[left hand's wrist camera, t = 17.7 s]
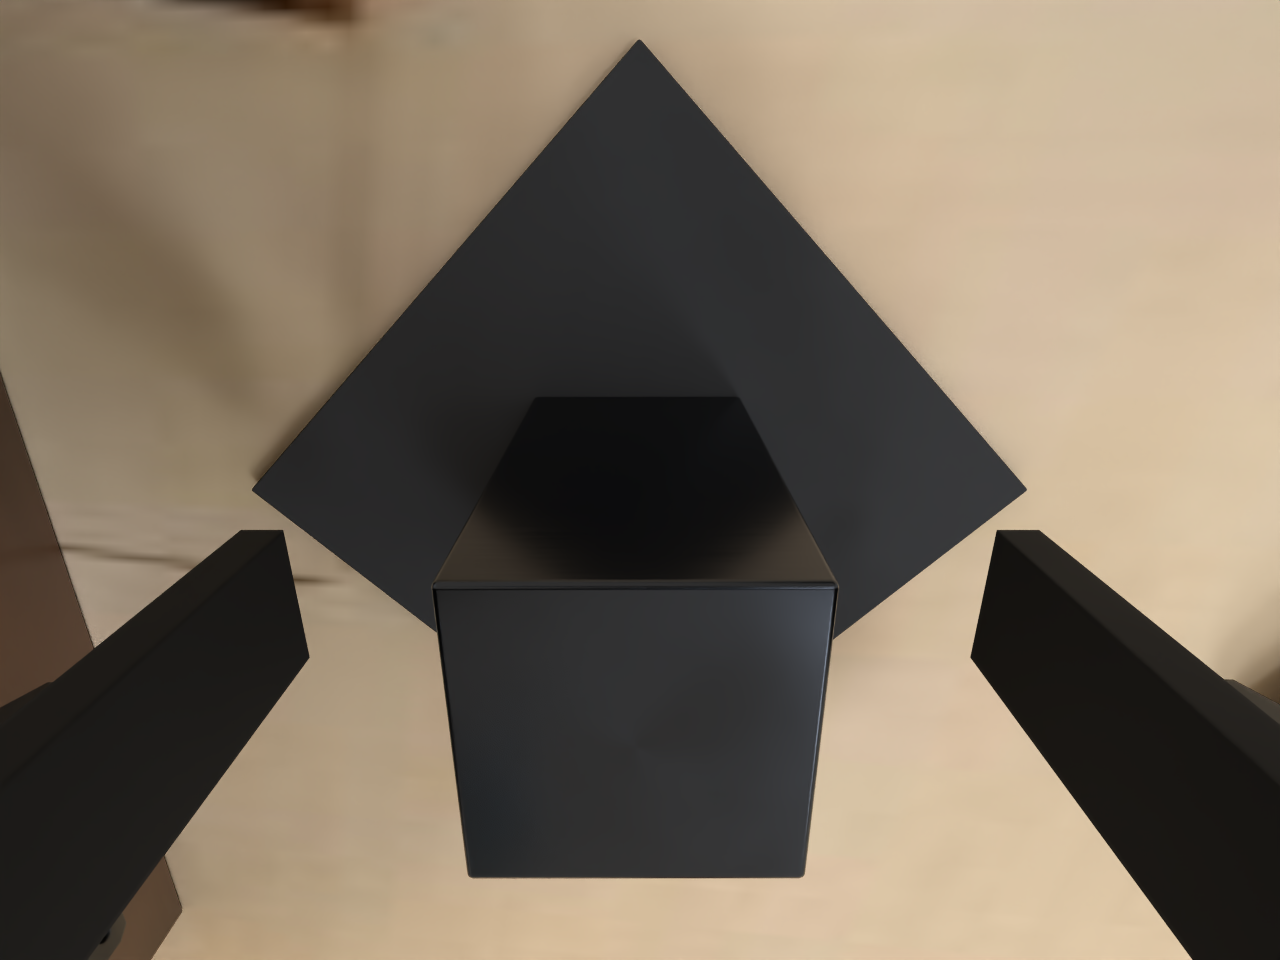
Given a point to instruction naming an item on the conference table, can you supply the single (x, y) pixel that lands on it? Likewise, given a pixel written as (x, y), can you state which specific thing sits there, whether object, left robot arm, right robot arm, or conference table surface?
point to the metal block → (635, 648)
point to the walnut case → (54, 645)
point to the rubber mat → (640, 359)
